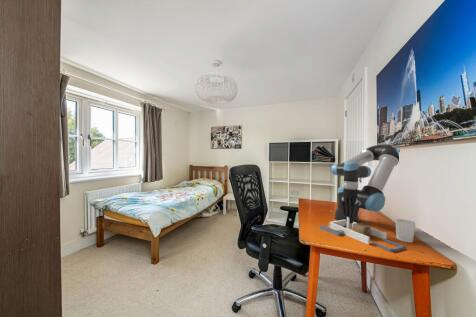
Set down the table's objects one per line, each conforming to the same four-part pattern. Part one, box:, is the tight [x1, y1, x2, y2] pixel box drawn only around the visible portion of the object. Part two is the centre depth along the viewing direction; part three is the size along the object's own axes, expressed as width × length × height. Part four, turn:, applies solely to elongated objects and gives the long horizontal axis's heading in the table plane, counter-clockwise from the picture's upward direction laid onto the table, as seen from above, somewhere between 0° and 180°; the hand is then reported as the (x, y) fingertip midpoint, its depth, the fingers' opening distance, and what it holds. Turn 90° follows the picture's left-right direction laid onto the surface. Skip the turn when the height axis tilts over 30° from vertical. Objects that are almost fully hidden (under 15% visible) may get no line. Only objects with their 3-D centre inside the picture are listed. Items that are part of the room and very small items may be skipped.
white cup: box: [395, 218, 416, 243], centre depth 102 cm, size 8×8×10 cm
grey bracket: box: [371, 238, 406, 253], centre depth 94 cm, size 10×9×1 cm
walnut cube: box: [352, 222, 372, 238], centre depth 106 cm, size 6×6×6 cm
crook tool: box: [318, 224, 345, 237], centre depth 112 cm, size 5×12×2 cm, turn 32°
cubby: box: [328, 219, 388, 245], centre depth 109 cm, size 15×24×4 cm, turn 23°
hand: (349, 228), depth 113 cm, fingers closed
